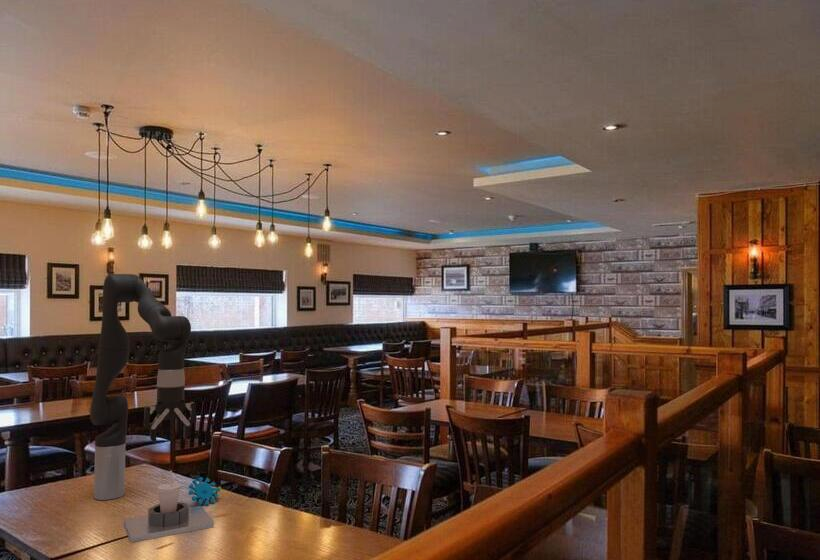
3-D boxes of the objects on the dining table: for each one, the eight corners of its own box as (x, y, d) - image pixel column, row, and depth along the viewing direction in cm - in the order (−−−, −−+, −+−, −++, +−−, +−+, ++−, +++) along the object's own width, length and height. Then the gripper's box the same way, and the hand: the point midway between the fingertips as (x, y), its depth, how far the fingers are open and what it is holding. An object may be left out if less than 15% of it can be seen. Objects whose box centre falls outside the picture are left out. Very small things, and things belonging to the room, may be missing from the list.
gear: (193, 504, 189) (187, 476, 195) (185, 515, 191) (179, 487, 197) (225, 501, 196) (218, 474, 202) (218, 511, 199) (211, 485, 205)
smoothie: (184, 517, 178) (186, 469, 179) (169, 524, 172) (171, 474, 173) (166, 515, 180) (168, 467, 181) (151, 522, 174) (152, 472, 175)
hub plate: (123, 523, 177) (123, 506, 177) (201, 510, 188) (201, 494, 189) (130, 542, 163) (130, 523, 163) (213, 527, 175) (214, 509, 175)
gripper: (193, 381, 184) (192, 434, 184) (142, 384, 177) (141, 440, 176) (198, 384, 178) (198, 439, 177) (146, 387, 170) (145, 445, 170)
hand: (169, 440), depth 177 cm, fingers open, 8 cm apart
